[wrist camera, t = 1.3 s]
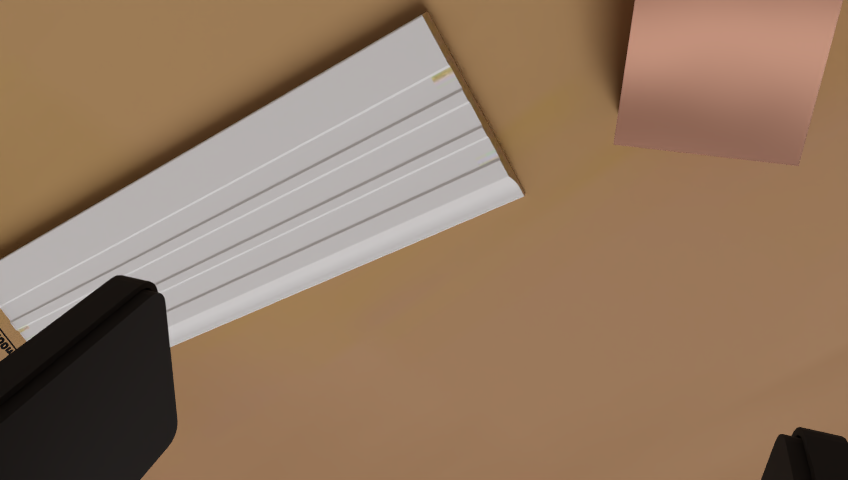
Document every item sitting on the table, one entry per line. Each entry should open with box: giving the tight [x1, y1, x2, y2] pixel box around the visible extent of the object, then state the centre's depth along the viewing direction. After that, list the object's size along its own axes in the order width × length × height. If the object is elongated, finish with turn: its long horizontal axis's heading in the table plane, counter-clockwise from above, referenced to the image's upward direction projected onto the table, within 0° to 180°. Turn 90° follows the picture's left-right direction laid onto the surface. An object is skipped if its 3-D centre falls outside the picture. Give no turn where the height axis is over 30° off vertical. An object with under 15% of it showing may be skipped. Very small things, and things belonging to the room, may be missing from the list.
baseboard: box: [0, 11, 525, 355], centre depth 37 cm, size 30×3×10 cm
